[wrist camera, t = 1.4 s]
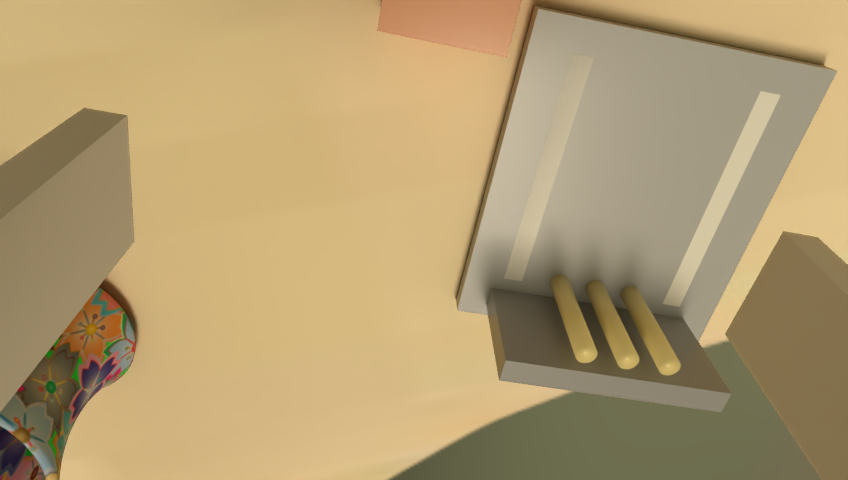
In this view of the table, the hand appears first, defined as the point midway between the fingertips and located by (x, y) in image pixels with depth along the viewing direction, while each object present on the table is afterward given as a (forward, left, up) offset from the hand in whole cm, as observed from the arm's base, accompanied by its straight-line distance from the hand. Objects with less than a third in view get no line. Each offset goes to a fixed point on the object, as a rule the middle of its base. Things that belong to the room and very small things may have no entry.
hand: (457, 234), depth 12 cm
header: (+5, +11, -18) cm, 22 cm away
